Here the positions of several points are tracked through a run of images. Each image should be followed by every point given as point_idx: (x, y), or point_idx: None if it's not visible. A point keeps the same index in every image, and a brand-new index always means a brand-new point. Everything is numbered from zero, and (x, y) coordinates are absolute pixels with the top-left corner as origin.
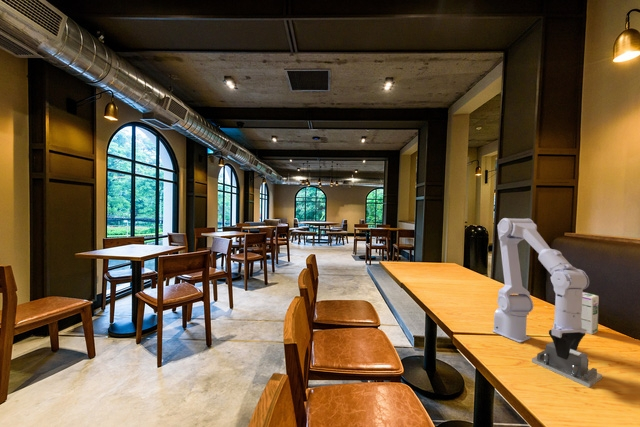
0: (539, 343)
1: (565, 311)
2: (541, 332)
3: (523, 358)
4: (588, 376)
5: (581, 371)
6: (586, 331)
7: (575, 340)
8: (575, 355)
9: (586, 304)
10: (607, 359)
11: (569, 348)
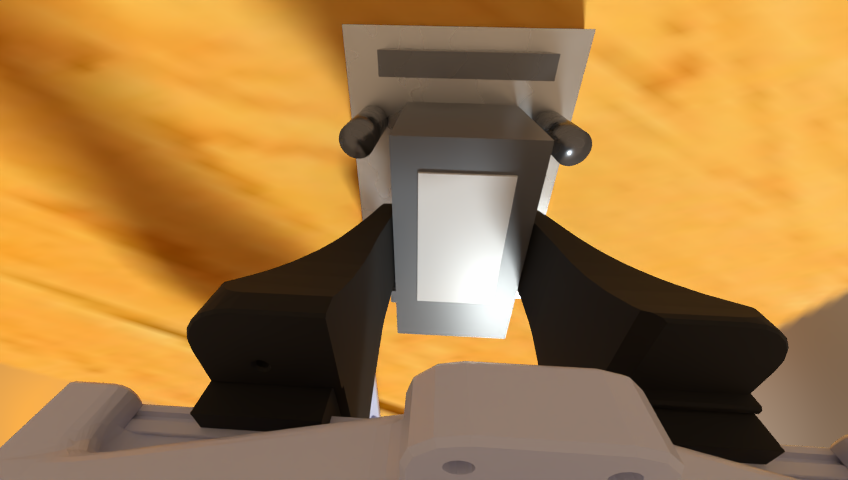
0: None
1: None
2: (154, 348)
3: (515, 311)
4: (557, 53)
5: (505, 110)
6: (486, 395)
7: (370, 281)
8: (521, 188)
9: None
10: (26, 93)
11: (592, 254)
